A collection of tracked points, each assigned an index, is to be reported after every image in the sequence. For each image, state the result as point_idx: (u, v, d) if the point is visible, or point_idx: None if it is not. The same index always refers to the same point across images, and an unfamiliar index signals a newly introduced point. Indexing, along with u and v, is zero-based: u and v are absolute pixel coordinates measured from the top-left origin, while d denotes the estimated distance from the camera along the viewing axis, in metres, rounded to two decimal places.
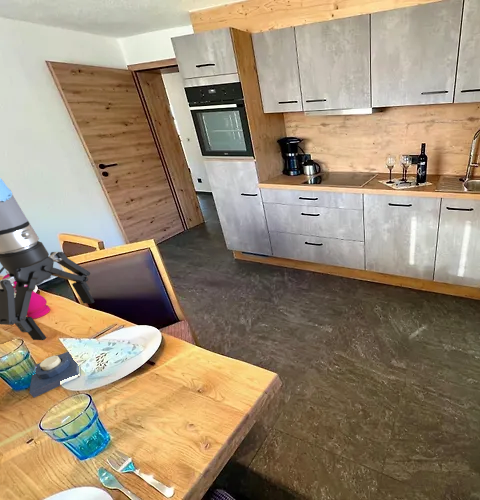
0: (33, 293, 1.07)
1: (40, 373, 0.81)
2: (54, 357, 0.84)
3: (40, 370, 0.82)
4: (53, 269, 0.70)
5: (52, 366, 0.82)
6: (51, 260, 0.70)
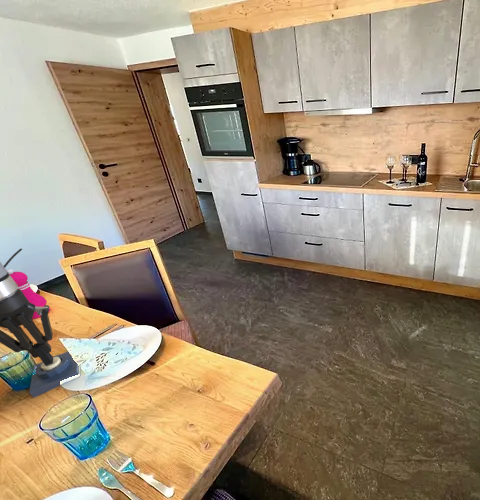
0: (33, 293, 1.07)
1: (40, 373, 0.81)
2: (55, 358, 0.84)
3: (40, 370, 0.82)
4: (24, 321, 0.75)
5: (53, 367, 0.83)
6: (31, 310, 0.76)
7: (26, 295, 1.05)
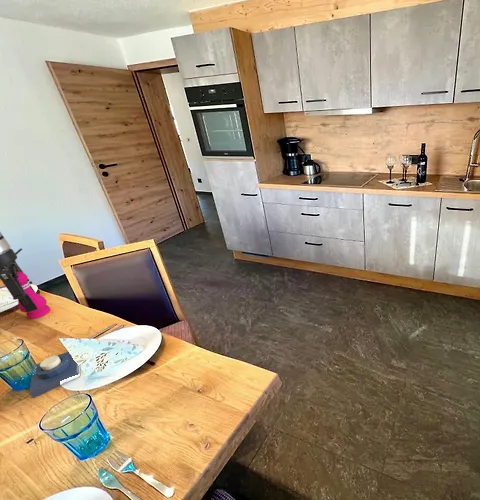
0: (33, 293, 1.07)
1: (40, 373, 0.81)
2: (54, 357, 0.84)
3: (40, 370, 0.82)
4: None
5: (52, 366, 0.82)
6: None
7: None
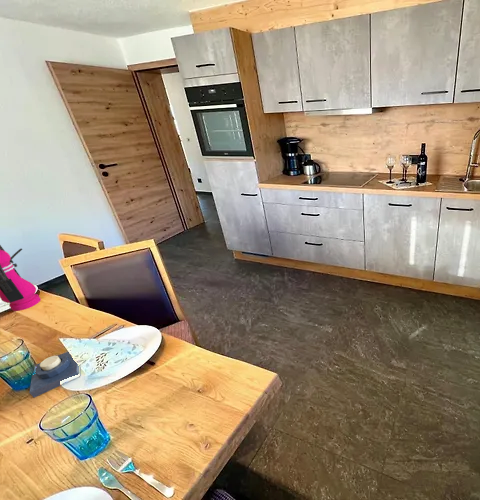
0: (18, 278, 0.84)
1: (40, 373, 0.81)
2: (54, 357, 0.84)
3: (40, 370, 0.82)
4: None
5: (52, 366, 0.82)
6: None
7: None
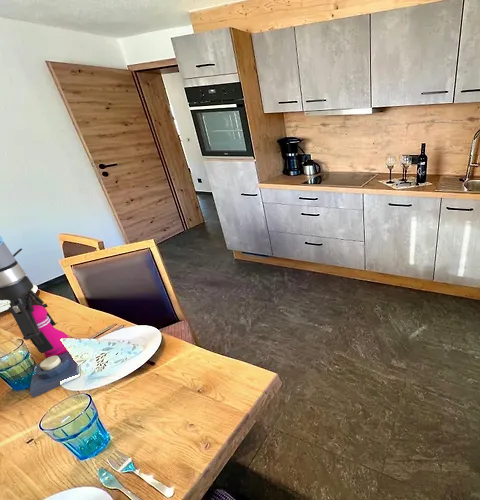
0: (53, 330, 0.89)
1: (40, 373, 0.81)
2: (54, 357, 0.84)
3: (40, 370, 0.82)
4: None
5: (52, 366, 0.82)
6: None
7: (45, 333, 0.87)
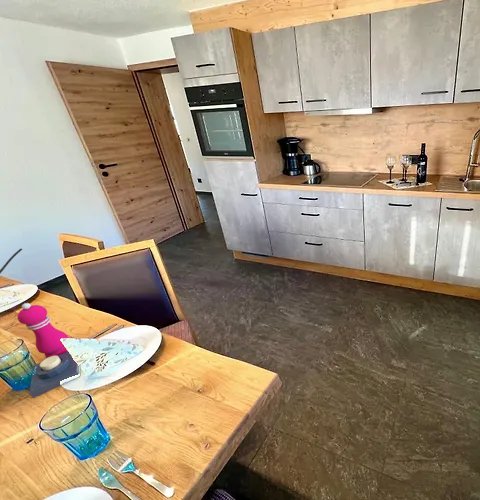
0: (53, 330, 0.89)
1: (40, 373, 0.81)
2: (54, 357, 0.84)
3: (40, 370, 0.82)
4: None
5: (52, 366, 0.82)
6: None
7: (45, 333, 0.87)
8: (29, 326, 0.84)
